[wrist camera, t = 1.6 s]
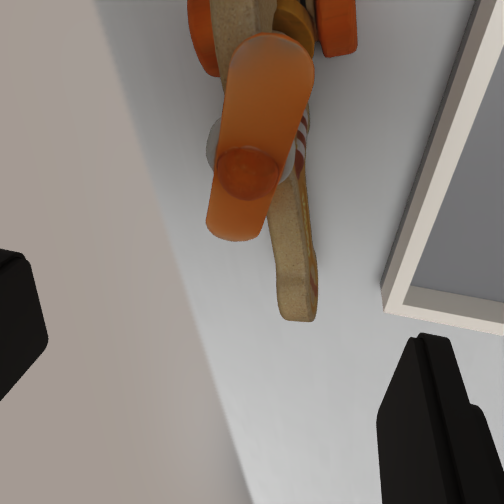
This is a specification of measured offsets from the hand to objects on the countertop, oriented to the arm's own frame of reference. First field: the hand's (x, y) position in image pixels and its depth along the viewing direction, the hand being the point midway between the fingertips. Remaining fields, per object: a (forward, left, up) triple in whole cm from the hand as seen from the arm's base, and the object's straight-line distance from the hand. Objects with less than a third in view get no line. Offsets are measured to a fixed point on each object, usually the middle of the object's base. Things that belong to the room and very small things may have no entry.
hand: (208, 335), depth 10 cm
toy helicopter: (0, 0, -20) cm, 20 cm away
